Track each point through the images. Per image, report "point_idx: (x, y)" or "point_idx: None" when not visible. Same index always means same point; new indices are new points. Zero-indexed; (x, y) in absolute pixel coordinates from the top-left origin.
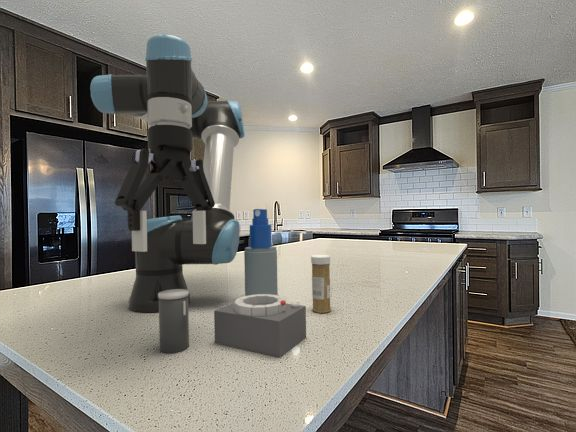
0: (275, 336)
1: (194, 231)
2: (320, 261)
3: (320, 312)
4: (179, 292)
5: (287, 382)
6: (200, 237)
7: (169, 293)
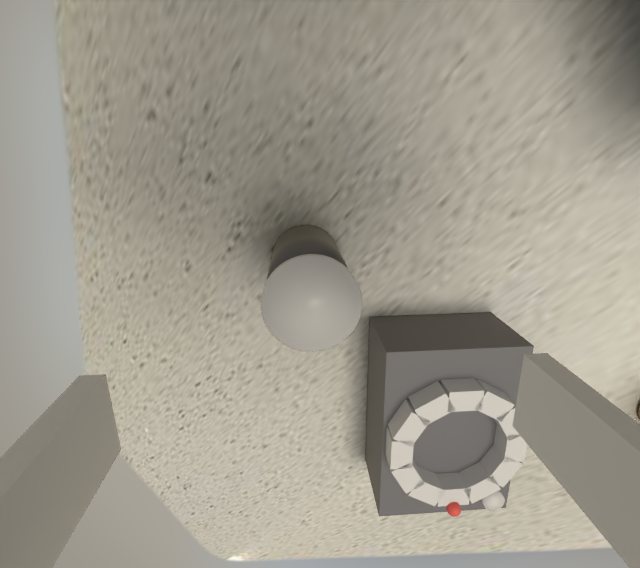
0: (372, 481)
1: (573, 413)
2: None
3: (638, 412)
4: (320, 324)
5: (295, 506)
6: (538, 432)
7: (293, 307)
